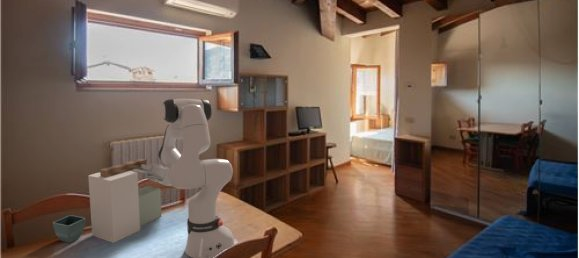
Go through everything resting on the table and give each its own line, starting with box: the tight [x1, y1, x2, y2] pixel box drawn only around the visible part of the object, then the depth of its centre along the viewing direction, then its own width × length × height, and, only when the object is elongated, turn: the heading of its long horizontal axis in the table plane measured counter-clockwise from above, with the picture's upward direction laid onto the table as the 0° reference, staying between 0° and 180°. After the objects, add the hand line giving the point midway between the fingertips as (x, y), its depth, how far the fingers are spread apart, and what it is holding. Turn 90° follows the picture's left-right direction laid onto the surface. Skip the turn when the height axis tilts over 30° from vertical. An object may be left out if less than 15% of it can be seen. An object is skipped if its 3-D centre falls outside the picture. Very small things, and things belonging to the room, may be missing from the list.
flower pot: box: [52, 214, 86, 243], centre depth 155 cm, size 9×9×9 cm
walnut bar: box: [99, 158, 148, 177], centre depth 163 cm, size 22×4×3 cm, turn 154°
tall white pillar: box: [87, 170, 141, 244], centre depth 160 cm, size 14×14×28 cm
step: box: [138, 185, 162, 227], centre depth 175 cm, size 15×8×15 cm, turn 154°
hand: (134, 164), depth 168 cm, fingers open, 8 cm apart
